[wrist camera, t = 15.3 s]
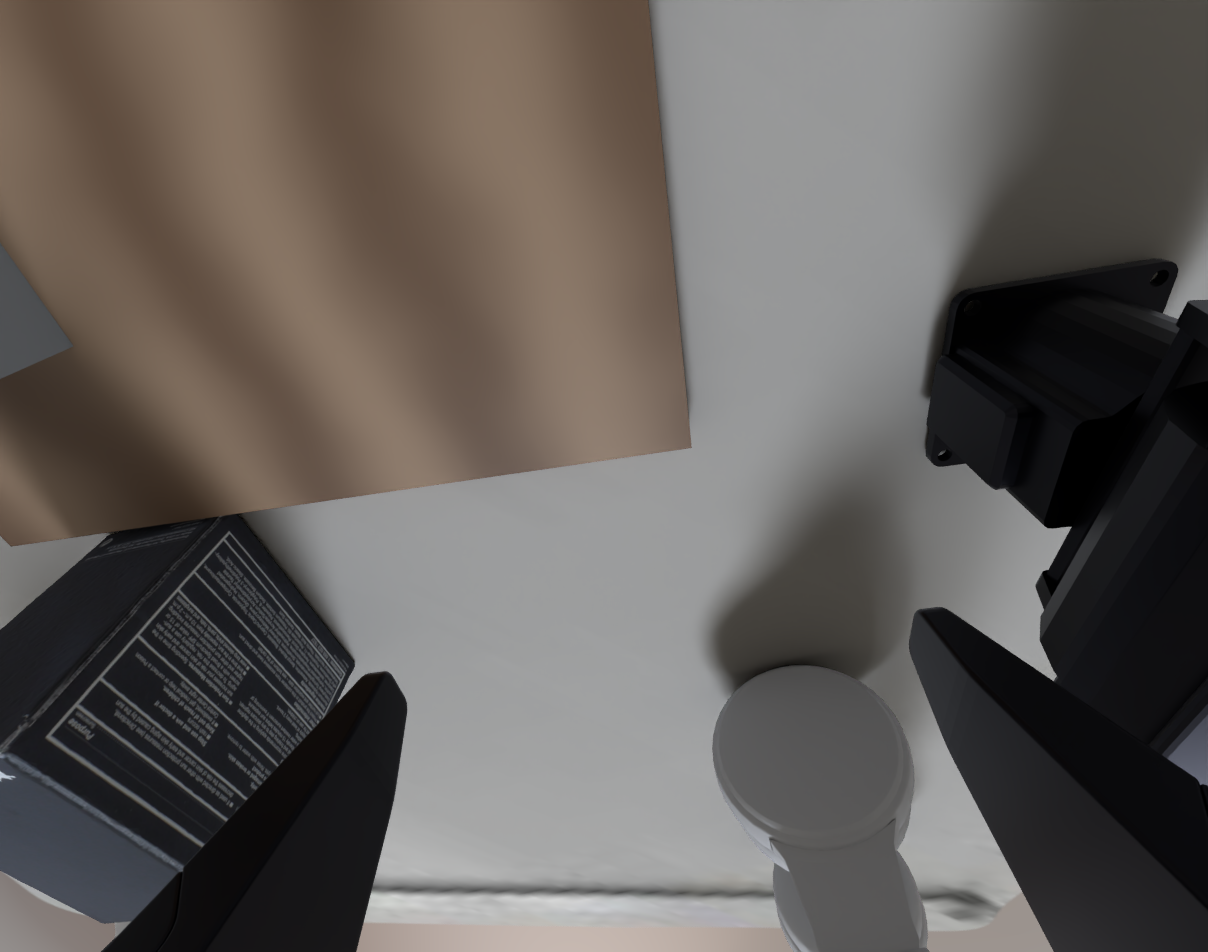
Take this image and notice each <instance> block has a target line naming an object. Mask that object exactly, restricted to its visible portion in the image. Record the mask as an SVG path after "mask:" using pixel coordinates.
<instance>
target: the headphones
mask: <svg viewBox="0 0 1208 952" xmlns="http://www.w3.org/2000/svg"><path fill="white" fill-rule="evenodd" d="M712 750H713V761H714V768H715V772H716V776H717V780H718V784H719V787H720V789H721V792H722V794H723V797H724V799H725V801H726V803H727V804H728V806H729V808H730V809H731V811H732V813H733V814H734V816H735V817H736V819H737V820H738V821H739V822H740V824H741V825H742V827H743V829H744V830H745V832H746V833H747V835H748V836H749V838H750V839H751V840H752V841H753V842H754V844H755V845H756V846H757V847H758V848H759V850H760V851H762V852H763V853H764V854H765V855H766V856H767V857H768V858H769V859H770V860H772V861H773V862H774V871H773V889H774V895H775V901H776V906H777V912H778V917H779V920H780V924H781V927H782V930H783V932H784V935H785V937H786V939H787V942H788V943H789V945H790V947H791V949H792V950H793V952H929V950H928V949H927V948H926V947H927V939H928V932H927V920H926V914H925V909H924V906H923V903H922V900H921V897H920V894H919V892H918V889H917V886H916V883H915V880H914V878H913V876H912V874H911V872H910V869H909V867H908V866H907V864H906V862H905V861H904V859H903V858H902V856H901V855H900V853H899V852H898V851H897V849H898V848H899V846H900V844H901V843H902V841H903V839H904V836H905V833H906V830H907V828H908V824H909V818H910V812H911V802H912V796H913V790H914V766H913V761H912V756H911V752H910V747H909V745H908V742H907V740H906V737H905V734H904V732H903V729H902V727H901V725H900V723H899V722H898V720H897V718H896V717H895V715H894V713H893V712H892V711H891V709H890V708H889V707H888V706H887V704H886V703H885V702H884V701H883V700H882V699H881V698H880V697H879V696H878V695H877V694H876V693H875V692H874V691H872V690H871V689H870V688H868V687H867V686H865V685H864V684H863V683H861V682H860V681H858V680H856V679H854V678H852V677H850V676H848V675H846V674H843V673H841V672H838V671H835V670H832V669H828V668H824V667H819V666H810V665H792V666H785V667H779V668H776V669H772V670H769V671H766V672H764V673H762V674H759V675H757V676H755V677H754V678H752V679H750V680H749V681H747V682H746V683H744V684H743V685H742V686H741V687H740V688H739V689H737V690H736V691H735V692H734V694H733V695H732V696H731V697H730V698H729V699H728V701H727V702H726V704H725V705H724V707H723V709H722V710H721V713H720V715H719V717H718V720H717V722H716V726H715V730H714V735H713V747H712Z"/></svg>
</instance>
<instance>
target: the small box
mask: <svg viewBox="0 0 1208 952" xmlns="http://www.w3.org/2000/svg"><path fill="white" fill-rule="evenodd" d="M354 667H355V664H354V662H353V661H352V660H351V658H350V657H349V656H348V654H347V653H346V652H345V651H344V649H343V648H342V647H341V645H340V644H339V643H338V642H337V640H336V639H335V638H334V637H333V635H332V634H331V633H330V631H329V630H328V629H327V628H326V626H325V625H324V624H323V622H322V621H321V620H320V619H319V618H318V616H317V615H316V613H315V612H314V611H313V610H312V609H311V607H310V606H309V605H308V604H307V602H306V601H305V600H304V598H303V597H302V596H301V595H300V593H299V592H298V591H297V589H296V588H295V587H294V586H293V584H292V583H291V582H290V580H289V579H288V578H287V577H286V575H285V574H284V573H283V572H282V570H281V569H280V568H279V567H278V565H277V564H276V563H275V561H274V560H273V559H272V558H271V556H270V555H269V554H268V552H267V551H266V550H265V548H264V547H263V546H262V545H261V543H260V542H259V541H258V540H257V538H256V537H255V536H254V535H253V533H252V532H251V531H250V530H249V528H248V527H247V526H246V524H245V523H244V522H243V521H242V519H241V518H240V517H239V516H238V514H231V515H225V516H218V517H211V518H204V519H197V520H190V521H183V522H176V523H169V524H162V525H156V526H149V527H142V528H135V529H128V530H125V531H121V532H119V533H115V534H111V535H108V536H107V537H106V538H105V539H104V540H103V541H102V542H101V543H99V544H98V545H97V546H96V547H95V548H94V549H93V550H92V551H90V552H89V553H88V554H87V555H86V556H85V557H84V558H83V559H82V560H80V561H79V562H78V563H77V564H76V565H75V566H73V567H72V568H71V569H70V570H69V571H68V572H66V573H65V574H64V575H63V576H62V577H61V578H60V579H58V580H57V581H56V582H55V583H54V584H53V585H52V586H50V587H49V588H48V589H47V590H46V591H44V592H43V593H42V594H41V595H40V596H39V597H37V598H36V599H35V600H34V601H33V602H32V603H31V604H29V605H28V606H27V607H26V608H25V609H24V610H23V611H21V612H20V613H19V614H18V615H17V616H16V617H15V618H14V619H13V620H11V621H10V622H9V623H8V624H7V625H6V626H5V627H3V628H2V629H1V630H0V871H2V872H4V873H6V874H8V875H10V876H12V877H13V878H15V879H17V880H19V881H21V882H23V883H25V884H27V885H29V886H31V887H33V888H35V889H37V890H39V891H41V892H43V893H44V894H46V895H48V896H50V897H52V898H54V899H56V900H58V901H60V902H62V903H64V904H66V905H68V906H70V907H72V908H73V909H75V910H77V911H79V912H81V913H83V914H85V915H87V916H89V917H91V918H93V919H95V920H97V921H99V922H101V923H119V922H131V921H132V920H133V919H134V918H135V917H136V916H137V915H138V914H139V913H140V912H141V911H142V910H143V909H144V908H145V907H146V906H147V905H148V904H149V903H150V901H151V900H152V899H153V898H154V897H155V896H156V895H157V894H158V893H159V892H160V891H161V890H162V889H163V888H164V887H165V886H166V885H167V884H168V882H169V881H170V880H171V879H172V878H173V877H174V876H175V875H176V874H177V873H178V872H181V871H183V867H184V866H185V865H186V864H187V862H188V861H189V860H190V859H191V858H192V857H193V856H194V855H195V854H196V853H197V852H198V851H199V850H200V849H201V848H202V847H203V845H204V844H205V843H206V842H207V841H208V840H209V839H210V838H211V837H212V836H213V835H214V834H215V833H216V832H217V831H218V829H219V828H220V827H221V826H222V825H223V824H224V823H225V822H226V821H227V820H228V819H229V818H230V817H231V816H232V815H233V814H234V812H235V811H236V810H237V809H238V808H239V807H240V806H241V805H242V804H243V803H244V802H245V801H246V800H247V799H248V798H249V796H250V795H251V794H252V793H253V792H254V791H255V790H256V789H257V788H258V787H259V786H260V785H261V784H262V783H263V782H264V781H265V779H266V778H267V777H268V776H269V775H270V774H271V773H272V772H273V771H274V770H275V769H276V768H277V767H278V766H279V765H280V763H281V762H282V761H283V760H284V759H285V758H286V757H287V756H288V755H289V754H290V753H291V752H292V751H293V750H294V749H295V748H296V746H297V745H298V744H299V743H300V742H301V741H302V740H303V739H304V738H305V737H306V736H307V735H308V734H309V733H310V732H311V730H312V729H313V728H314V727H315V726H316V725H317V724H318V723H319V722H320V721H321V720H322V719H323V718H324V717H325V716H326V715H327V713H328V712H329V711H330V710H331V709H332V708H333V707H334V706H335V705H336V703H337V701H338V699H339V697H340V695H341V693H342V691H343V689H344V687H345V685H346V682H347V680H348V678H349V676H350V675H351V673H352V671H353V669H354Z"/></svg>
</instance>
